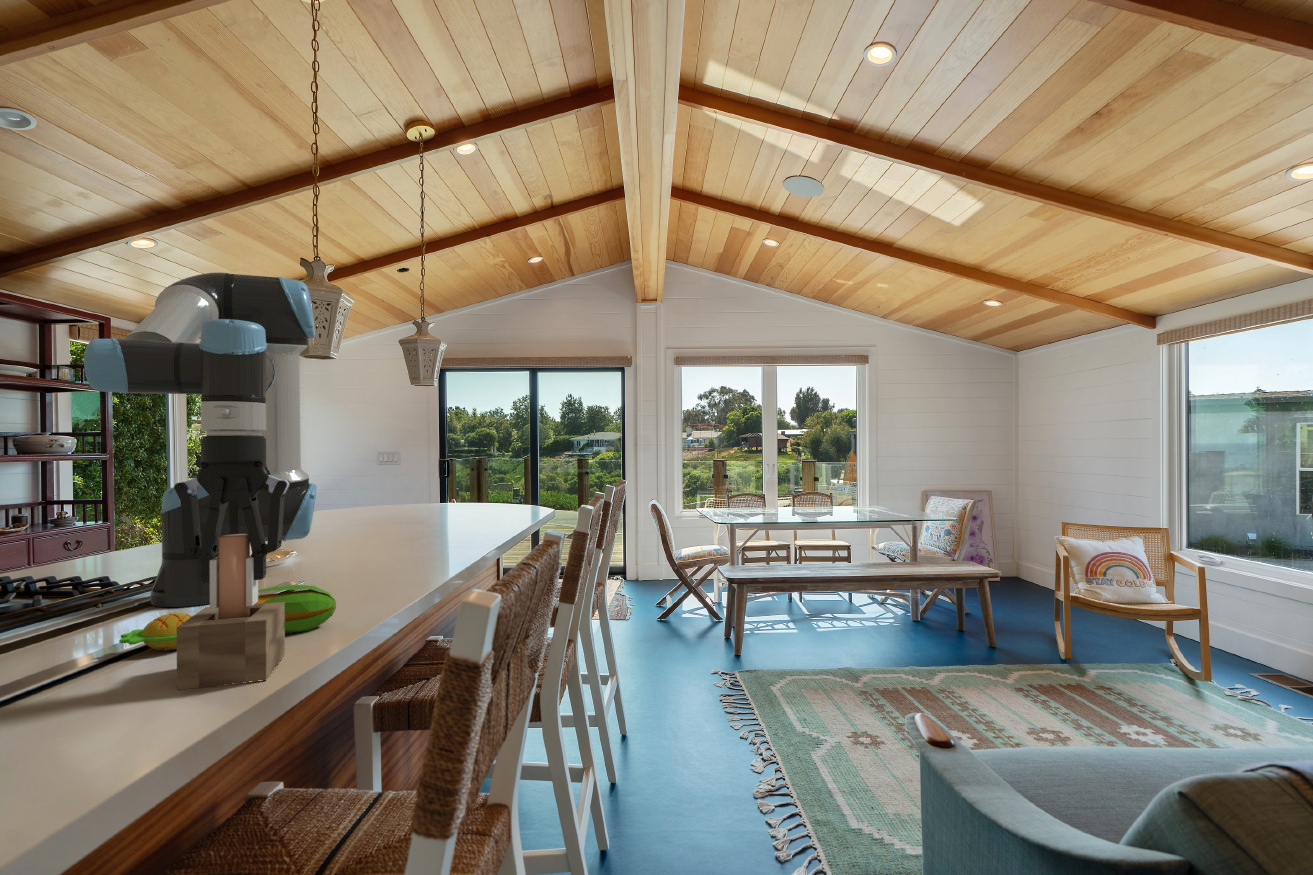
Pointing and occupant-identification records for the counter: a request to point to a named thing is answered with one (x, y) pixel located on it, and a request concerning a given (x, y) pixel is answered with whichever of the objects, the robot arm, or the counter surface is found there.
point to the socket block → (230, 646)
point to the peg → (232, 576)
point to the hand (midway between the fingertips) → (234, 604)
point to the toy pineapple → (158, 632)
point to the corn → (301, 606)
